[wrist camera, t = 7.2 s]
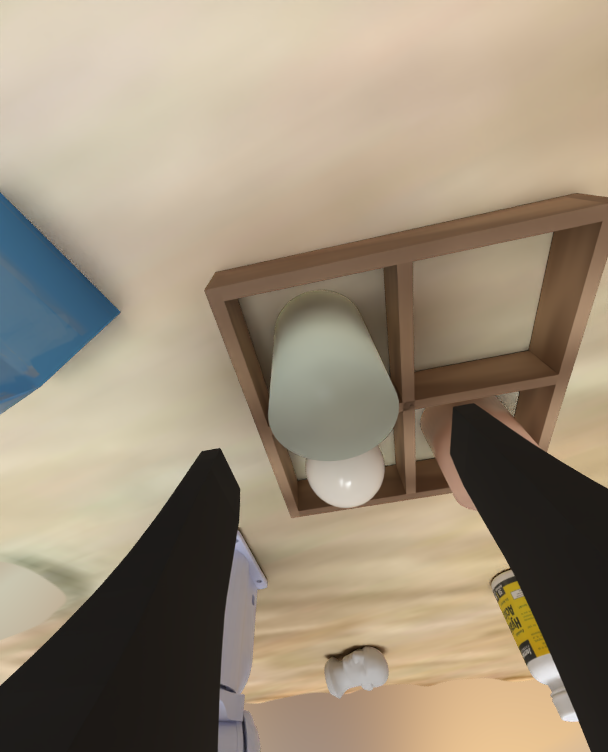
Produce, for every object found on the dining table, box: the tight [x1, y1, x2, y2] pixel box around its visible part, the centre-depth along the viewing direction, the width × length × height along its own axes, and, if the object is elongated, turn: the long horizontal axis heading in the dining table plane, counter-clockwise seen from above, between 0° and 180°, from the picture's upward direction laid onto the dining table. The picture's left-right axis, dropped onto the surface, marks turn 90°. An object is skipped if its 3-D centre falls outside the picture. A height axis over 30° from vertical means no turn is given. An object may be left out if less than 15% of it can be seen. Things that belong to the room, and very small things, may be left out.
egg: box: [305, 445, 385, 508], centre depth 19 cm, size 5×5×5 cm
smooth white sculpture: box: [324, 646, 389, 699], centre depth 42 cm, size 4×8×5 cm
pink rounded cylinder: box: [420, 395, 540, 511], centre depth 18 cm, size 5×5×5 cm
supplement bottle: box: [491, 570, 578, 722], centre depth 29 cm, size 5×5×10 cm
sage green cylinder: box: [268, 290, 399, 461], centre depth 14 cm, size 5×5×6 cm
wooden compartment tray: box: [204, 193, 608, 518], centre depth 18 cm, size 16×16×2 cm
